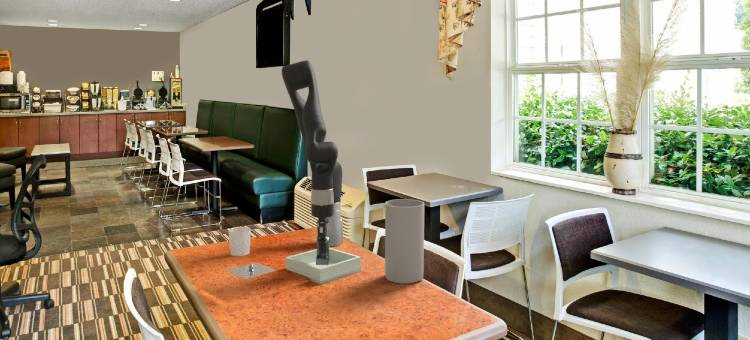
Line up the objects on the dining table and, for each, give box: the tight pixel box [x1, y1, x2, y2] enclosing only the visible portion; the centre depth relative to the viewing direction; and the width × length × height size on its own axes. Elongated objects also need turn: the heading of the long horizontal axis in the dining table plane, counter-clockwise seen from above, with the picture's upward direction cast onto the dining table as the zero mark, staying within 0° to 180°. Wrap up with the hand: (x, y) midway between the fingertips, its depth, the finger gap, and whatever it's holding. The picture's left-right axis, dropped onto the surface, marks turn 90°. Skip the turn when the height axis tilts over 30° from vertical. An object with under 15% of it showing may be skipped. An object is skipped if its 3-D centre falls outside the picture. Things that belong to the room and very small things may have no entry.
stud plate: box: [226, 262, 277, 280], centre depth 180 cm, size 12×12×3 cm
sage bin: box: [284, 247, 362, 286], centre depth 182 cm, size 18×18×5 cm
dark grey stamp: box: [316, 235, 330, 265], centre depth 181 cm, size 4×4×9 cm
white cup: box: [228, 226, 252, 257], centre depth 199 cm, size 8×8×10 cm
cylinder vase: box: [384, 198, 425, 285], centre depth 174 cm, size 12×12×25 cm
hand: (323, 251), depth 181 cm, fingers closed on dark grey stamp, 4 cm apart
